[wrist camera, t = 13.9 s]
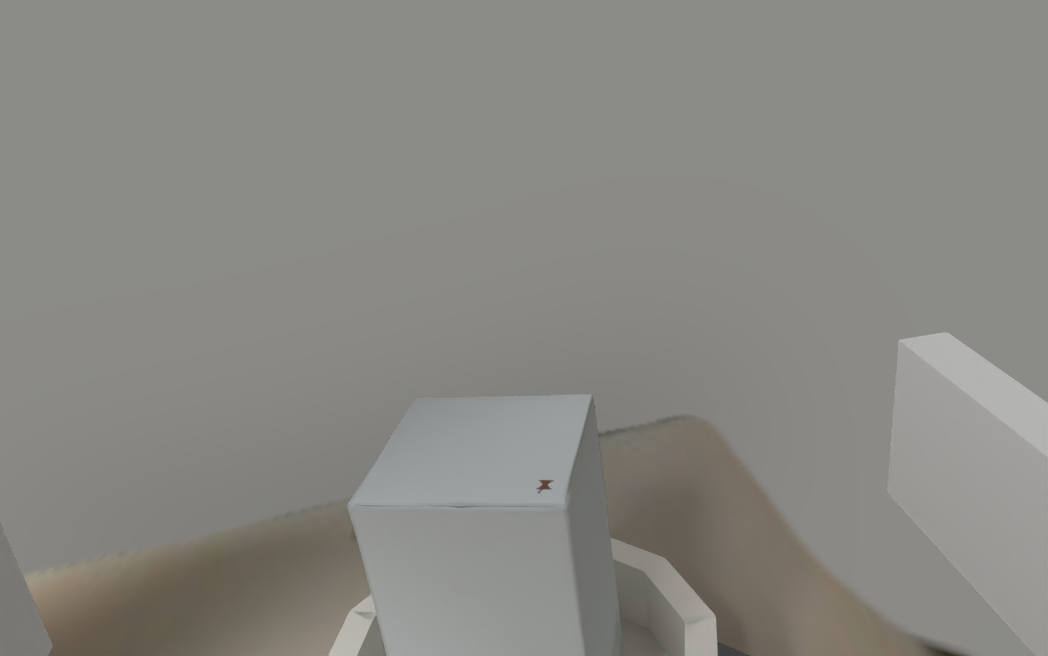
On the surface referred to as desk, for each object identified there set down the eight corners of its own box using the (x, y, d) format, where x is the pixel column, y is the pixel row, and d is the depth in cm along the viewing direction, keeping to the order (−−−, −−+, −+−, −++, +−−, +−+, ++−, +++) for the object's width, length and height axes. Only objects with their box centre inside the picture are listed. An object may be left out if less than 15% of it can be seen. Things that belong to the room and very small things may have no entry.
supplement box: (628, 650, 38) (601, 388, 33) (606, 803, 32) (568, 507, 27) (463, 640, 40) (414, 390, 35) (410, 783, 34) (340, 502, 29)
